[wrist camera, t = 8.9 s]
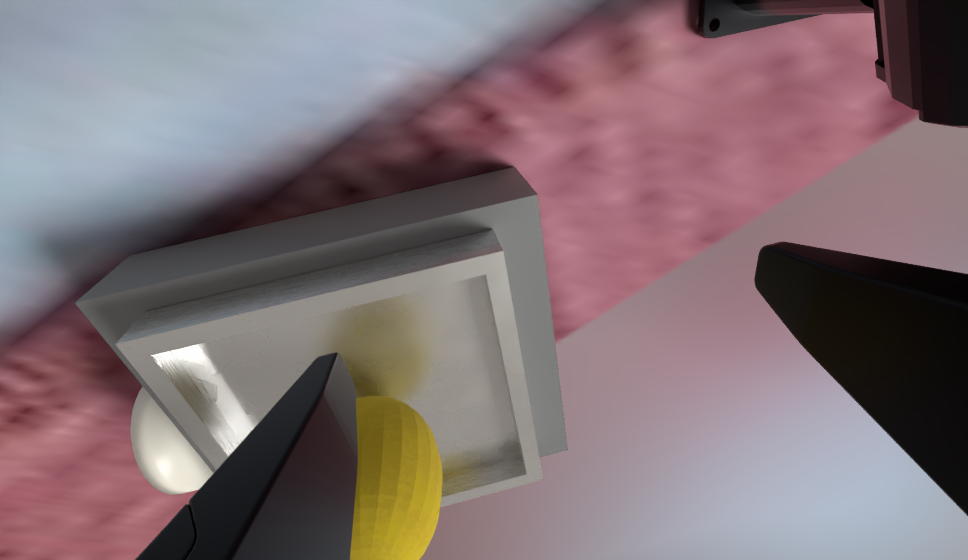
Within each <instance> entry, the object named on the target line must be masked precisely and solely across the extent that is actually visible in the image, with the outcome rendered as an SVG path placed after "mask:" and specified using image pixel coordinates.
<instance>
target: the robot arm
mask: <svg viewBox="0 0 968 560" xmlns="http://www.w3.org/2000/svg"><path fill="white" fill-rule="evenodd" d="M846 13H874V19H875V29H876V39H877V49H878V59H877V60H876V61H875V68H876V76H877V78H879V79H881V80H882V81H884V82H886V83H887V86H888V88H889V91H890V93H891V96H892V98H894V99H896V100H898V101H899V102H901V103H903V104H905V105H907V106H908V107H910V108H912V109H915V110H918V113H919V120H921V121H923V122H928V123H931V124H938V125H945V126H952V127H958V128H968V0H700V5H699V19H698V32H699V34H700V36H701V37H703V38H717V37H721V36H726V35H730V34H735V33H739V32H744V31H749V30H753V29H758V28H762V27H767V26H771V25H776V24H781V23H785V22H790V21H794V20H799V19H803V18H808V17H812V16H817V15H822V14H846ZM712 19H713V20H714V27H713V29H712V30H711V31H710V30H709V24H710V22H711V20H712ZM755 286H756V288H757V290H758V291H759V292H760V294H761V295H762V296H763V298H764V299H765V300H766V302H767V303H768V304H769V305H770V307H771V308H772V309H773V310H774V312H775V313H776V314H777V315H778V317H779V318H780V319H781V320H782V322H783V323H784V324H785V325H786V327H787V328H788V329H789V330H790V332H791V333H792V334H793V335H794V337H795V338H796V339H797V340H798V341H799V343H800V344H801V345H802V346H803V347H804V348H805V349H806V350H807V351H808V352H809V353H810V355H811V356H812V357H813V358H814V359H815V360H816V361H817V362H818V363H820V365H821V366H822V367H823V368H824V369H825V370H826V371H827V372H828V373H829V374H830V375H831V376H832V377H833V378H834V379H835V380H836V381H837V382H838V383H839V384H840V385H841V386H842V387H843V388H844V390H845V391H846V392H847V393H848V394H849V395H850V396H851V397H852V398H853V399H854V400H855V401H856V402H857V403H858V404H859V405H860V406H861V407H862V408H863V409H864V410H865V411H866V412H867V413H868V414H869V415H870V416H871V417H872V418H873V419H874V420H875V421H876V422H877V423H878V424H879V425H880V426H881V427H882V428H883V430H884V431H885V432H886V433H887V434H889V436H890V437H891V438H892V439H893V440H894V441H895V442H896V443H897V444H898V445H899V446H900V447H901V448H902V449H903V450H904V451H905V452H906V453H907V454H908V455H909V456H910V457H911V458H912V459H913V460H914V461H915V462H916V463H917V464H918V465H919V466H920V468H921V469H922V470H923V471H924V472H926V474H927V475H928V476H929V477H930V478H931V479H932V480H933V481H934V482H935V483H936V484H937V485H938V486H939V487H940V488H941V489H942V490H943V491H944V492H945V493H946V494H947V495H948V496H949V497H950V498H951V499H952V500H953V501H954V502H955V503H956V505H957V506H959V508H960V509H961V510H962V511H963V512H964V513H965V514H966V515H967V516H968V274H964V273H958V272H953V271H946V270H942V269H936V268H930V267H924V266H919V265H913V264H908V263H902V262H896V261H891V260H885V259H879V258H874V257H868V256H862V255H857V254H851V253H845V252H839V251H834V250H829V249H823V248H816V247H812V246H805V245H800V244H795V243H789V242H778V243H774V244H770V245H766V246H764V247H762V249H761V250H760V252H759V256H758V261H757V267H756V273H755ZM357 468H358V442H357V415H356V391H355V386H354V382H353V380H352V377H351V375H350V373H349V371H348V369H347V367H346V364H345V362H344V360H343V358H342V356H341V355H340V354H339V353H337V352H335V353H331V354H327V355H322V356H319V357H317V358H316V359H315V360H314V361H313V362H312V364H311V365H310V366H309V367H308V368H307V369H306V370H305V371H304V373H303V374H302V375H301V376H300V377H299V378H298V379H297V380H296V382H295V383H294V384H293V385H292V386H291V387H290V388H289V389H288V390H287V392H286V393H285V394H284V395H283V396H282V397H281V398H280V399H279V401H278V402H277V403H276V404H275V405H274V406H273V407H272V408H271V410H270V411H269V412H268V413H267V414H266V415H265V416H264V417H263V418H262V420H261V421H260V422H259V423H258V424H257V425H256V426H255V427H254V429H253V430H252V431H251V432H250V433H249V434H248V435H247V436H246V438H245V439H244V440H243V441H242V442H241V443H240V444H239V445H238V446H237V448H236V449H235V450H234V451H233V452H232V453H231V454H230V455H229V457H228V458H227V459H226V460H225V461H224V462H223V463H222V464H221V466H220V467H219V468H218V469H217V470H216V471H215V472H214V473H213V474H212V476H211V477H210V478H209V479H208V480H207V481H206V482H205V483H204V485H203V486H202V487H201V488H200V489H199V490H198V491H197V492H196V493H195V495H194V496H193V497H192V498H191V499H190V501H189V504H190V505H189V504H186V505H185V506H184V507H183V508H182V509H181V510H180V511H179V512H178V513H177V515H176V516H175V517H174V518H173V519H172V520H171V521H170V522H169V524H168V525H167V526H166V527H165V528H164V529H163V530H162V531H161V532H160V533H159V534H158V536H157V537H156V538H155V539H154V540H153V541H152V542H151V543H150V544H149V545H148V546H147V547H146V549H145V550H144V551H143V552H142V553H141V554H140V555H139V556H138V557H137V558H136V559H135V560H350V553H351V541H352V529H353V517H354V506H355V494H356V482H357Z"/></svg>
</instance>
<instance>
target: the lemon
mask: <svg viewBox="0 0 968 560" xmlns="http://www.w3.org/2000/svg"><path fill="white" fill-rule="evenodd" d="M356 415H357V442H358V468H357V482H356V494H355V506H354V517H353V529H352V541H351V553H350V560H419V559H420V558H421V556H422V555H423V554H424V552H425V550H426V548H427V546H428V544H429V542H430V540H431V538H432V536H433V534H434V531H435V528H436V525H437V521H438V516H439V511H440V504H441V494H442V465H441V459H440V454H439V451H438V447H437V444H436V441H435V438H434V435H433V433H432V431H431V429H430V427H429V426H428V424H427V423H426V422H425V420H424V419H423V418H422V416H421V415H420V414H419V413H418V412H417V411H416V410H414V409H413V408H411V407H410V406H409V405H407V404H406V403H404V402H402V401H399V400H397V399H394V398H390V397H385V396H366V397H361V398H356Z"/></svg>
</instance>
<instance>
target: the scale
mask: <svg viewBox="0 0 968 560" xmlns="http://www.w3.org/2000/svg"><path fill="white" fill-rule="evenodd" d="M492 229H493V230H494V232H495V234H496V236H497V238H498V241H499V243H500V245H501V247H502V249H503V252H504V257H505V263H506V269H507V275H508V280H509V286H510V292H511V298H512V303H513V309H514V315H515V321H516V326H517V332H518V338H519V344H520V349H521V355H522V361H523V367H524V372H525V378H526V384H527V390H528V395H529V401H530V407H531V413H532V418H533V424H534V430H535V436H536V441H537V447H538V453H539V457H543V456H547V455H550V454H554V453H558V452H561V451H565V450H568V449H567V440H566V432H565V423H564V414H563V406H562V397H561V389H560V381H559V372H558V364H557V355H556V346H555V338H554V329H553V321H552V312H551V304H550V296H549V287H548V279H547V270H546V262H545V253H544V245H543V236H542V228H541V219H540V211H539V202H538V194H537V193H536V192H535V191H534V190H533V188H532V187H531V186H530V185H529V184H528V182H527V181H526V180H525V179H524V178H523V176H522V175H521V174H520V173H519V171H518V170H517V169H516V168H515V167H511V168H507V169H503V170H498V171H494V172H490V173H485V174H481V175H477V176H472V177H468V178H463V179H459V180H455V181H450V182H446V183H442V184H437V185H433V186H429V187H424V188H420V189H416V190H411V191H407V192H403V193H398V194H394V195H390V196H385V197H381V198H377V199H372V200H368V201H364V202H359V203H355V204H351V205H346V206H342V207H337V208H333V209H329V210H324V211H320V212H316V213H311V214H307V215H303V216H298V217H294V218H290V219H285V220H281V221H277V222H272V223H268V224H264V225H259V226H255V227H251V228H246V229H242V230H238V231H233V232H229V233H225V234H220V235H216V236H211V237H207V238H203V239H198V240H194V241H190V242H185V243H181V244H177V245H172V246H168V247H164V248H159V249H155V250H151V251H146V252H142V253H138V254H133V255H130V256H129V257H127V258H126V259H125V260H124V261H123V262H122V263H121V264H119V265H118V266H117V267H116V268H115V269H114V270H112V271H111V272H110V273H109V274H108V275H107V276H105V277H104V278H103V279H102V280H101V281H100V282H98V283H97V284H96V285H95V286H94V287H93V288H91V289H90V290H89V291H88V292H87V293H86V294H84V295H83V296H82V297H81V298H80V299H79V300H78V301H76V302H75V304H76V305H77V306H78V308H79V309H80V310H81V311H82V313H83V314H84V315H85V316H86V317H87V319H88V320H89V321H90V322H91V324H92V325H93V326H94V327H95V328H96V330H97V331H98V332H99V333H100V335H101V336H102V337H103V338H104V340H105V341H106V342H107V343H108V344H109V346H110V347H111V348H112V349H113V351H114V352H115V353H116V354H117V355H118V357H119V358H120V359H121V360H122V362H123V363H124V364H125V365H126V366H127V368H128V369H129V370H130V371H131V373H132V374H133V375H134V376H135V377H136V379H137V380H138V381H139V382H140V384H141V385H142V388H141V390H140V391H139V393H138V396H137V398H136V401H135V404H134V407H133V412H132V417H131V442H132V448H133V453H134V456H135V459H136V462H137V464H138V466H139V469H140V471H141V472H142V474H143V475H144V477H145V478H146V479H147V481H148V482H149V483H150V484H151V485H152V486H153V487H154V488H156V489H157V490H159V491H161V492H163V493H166V494H171V495H179V494H183V493H187V492H191V491H195V490H198V489H200V488H201V487H202V486H203V485H204V483H205V482H206V481H207V480H208V479H209V478H210V477H211V476H212V474H213V473H214V472H215V471H216V469H215V467H214V466H213V465H212V464H211V462H210V461H209V460H208V459H207V457H206V456H205V455H204V454H203V453H202V451H201V450H200V449H199V448H198V446H197V445H196V444H195V443H194V441H193V440H192V439H191V438H190V436H189V435H188V434H187V433H186V431H185V430H184V429H183V428H182V427H181V425H180V424H179V423H178V422H177V420H176V419H175V418H174V417H173V415H172V414H171V413H170V412H169V410H168V409H167V408H166V407H165V405H164V404H163V403H162V402H161V400H160V399H159V398H158V397H157V396H156V394H155V393H154V392H153V391H152V389H151V388H150V387H149V386H148V384H147V383H146V382H145V381H144V379H143V378H142V377H141V376H140V374H139V373H138V372H137V371H136V370H135V368H134V367H133V366H132V365H131V363H130V362H129V361H128V360H127V358H126V357H125V356H124V355H123V353H122V352H121V351H120V350H119V348H118V347H117V346H116V345H115V344H116V343H117V342H118V340H119V339H120V338H121V337H122V336H123V335H124V334H125V333H126V331H127V330H128V329H129V328H130V327H131V326H132V325H133V323H134V322H135V321H136V320H137V319H138V318H139V317H140V316H141V314H142V313H143V312H147V311H151V310H155V309H159V308H163V307H168V306H172V305H176V304H180V303H185V302H189V301H193V300H197V299H201V298H206V297H210V296H214V295H218V294H222V293H227V292H231V291H235V290H239V289H243V288H248V287H252V286H256V285H260V284H264V283H269V282H273V281H277V280H281V279H286V278H290V277H294V276H298V275H302V274H307V273H311V272H315V271H319V270H323V269H328V268H332V267H336V266H340V265H344V264H349V263H353V262H357V261H361V260H365V259H370V258H374V257H378V256H382V255H387V254H391V253H395V252H399V251H403V250H408V249H412V248H416V247H420V246H424V245H429V244H433V243H437V242H441V241H445V240H450V239H454V238H458V237H462V236H467V235H471V234H475V233H479V232H483V231H488V230H492Z"/></svg>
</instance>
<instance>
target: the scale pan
mask: <svg viewBox="0 0 968 560" xmlns="http://www.w3.org/2000/svg"><path fill="white" fill-rule="evenodd" d="M115 345H116V346H117V347H118V348H119V350H120V351H121V352H122V353H123V355H124V356H125V357H126V358H127V360H128V361H129V362H130V363H131V365H132V366H133V367H134V368H135V370H136V371H137V372H138V373H139V374H140V376H141V377H142V378H143V379H144V381H145V382H146V383H147V384H148V386H149V387H150V388H151V389H152V391H153V392H154V393H155V394H156V396H157V397H158V398H159V399H160V400H161V402H162V403H163V404H164V405H165V407H166V408H167V409H168V410H169V412H170V413H171V414H172V415H173V417H174V418H175V419H176V420H177V422H178V423H179V424H180V425H181V427H182V428H183V429H184V430H185V431H186V433H187V434H188V435H189V436H190V438H191V439H192V440H193V441H194V443H195V444H196V445H197V446H198V448H199V449H200V450H201V451H202V453H203V454H204V455H205V456H206V457H207V459H208V460H209V461H210V462H211V464H212V465H213V466H214V467H215V469H216V470H217V469H218V468H219V467H220V466H221V464H222V463H223V462H224V461H225V460H226V459H227V458H228V457H229V455H230V454H231V453H232V452H233V451H234V450H235V449H236V448H237V446H238V445H239V444H240V443H241V442H242V441H243V440H244V439H245V438H246V436H247V435H248V434H249V433H250V432H251V431H252V430H253V429H254V427H255V426H256V425H257V424H258V423H259V422H260V421H261V420H262V418H263V417H264V416H265V415H266V414H267V413H268V412H269V411H270V410H271V408H272V407H273V406H274V405H275V404H276V403H277V402H278V401H279V399H280V398H281V397H282V396H283V395H284V394H285V393H286V392H287V390H288V389H289V388H290V387H291V386H292V385H293V384H294V383H295V382H296V380H297V379H298V378H299V377H300V376H301V375H302V374H303V373H304V371H305V370H306V369H307V368H308V367H309V366H310V365H311V364H312V362H313V361H314V360H315V359H316V358H317V357H319V356H322V355H327V354H331V353H335V352H337V353H339V354H340V355H341V356H342V358H343V360H344V362H345V364H346V367H347V369H348V371H349V373H350V375H351V377H352V380H353V382H354V386H355V391H356V398H361V397H366V396H385V397H390V398H394V399H397V400H399V401H402V402H404V403H406V404H407V405H409V406H410V407H411V408H413V409H414V410H416V411H417V412H418V413H419V414H420V415H421V416H422V418H423V419H424V420H425V422H426V423H427V424H428V426H429V427H430V429H431V431H432V433H433V435H434V438H435V441H436V444H437V447H438V451H439V454H440V459H441V465H442V494H441V504H440V507H444V506H447V505H451V504H455V503H458V502H462V501H466V500H470V499H473V498H477V497H480V496H484V495H487V494H492V493H495V492H499V491H503V490H506V489H510V488H514V487H517V486H521V485H524V484H528V483H532V482H536V481H539V480H543V476H542V470H541V464H540V459H539V453H538V447H537V441H536V436H535V430H534V424H533V418H532V413H531V407H530V401H529V395H528V390H527V384H526V378H525V372H524V367H523V361H522V355H521V349H520V344H519V338H518V332H517V326H516V321H515V315H514V309H513V303H512V298H511V292H510V286H509V280H508V275H507V269H506V263H505V257H504V252H503V249H502V247H501V245H500V243H499V241H498V238H497V236H496V234H495V232H494V230H493V229H492V230H488V231H483V232H479V233H475V234H471V235H467V236H462V237H458V238H454V239H450V240H445V241H441V242H437V243H433V244H429V245H424V246H420V247H416V248H412V249H408V250H403V251H399V252H395V253H391V254H387V255H382V256H378V257H374V258H370V259H365V260H361V261H357V262H353V263H349V264H344V265H340V266H336V267H332V268H328V269H323V270H319V271H315V272H311V273H307V274H302V275H298V276H294V277H290V278H286V279H281V280H277V281H273V282H269V283H264V284H260V285H256V286H252V287H248V288H243V289H239V290H235V291H231V292H227V293H222V294H218V295H214V296H210V297H206V298H201V299H197V300H193V301H189V302H185V303H180V304H176V305H172V306H168V307H163V308H159V309H155V310H151V311H147V312H143V313H142V314H141V316H140V317H139V318H138V319H137V320H136V321H135V322H134V323H133V325H132V326H131V327H130V328H129V329H128V330H127V331H126V333H125V334H124V335H123V336H122V337H121V338H120V339H119V340H118V342H117V343H116V344H115Z"/></svg>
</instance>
